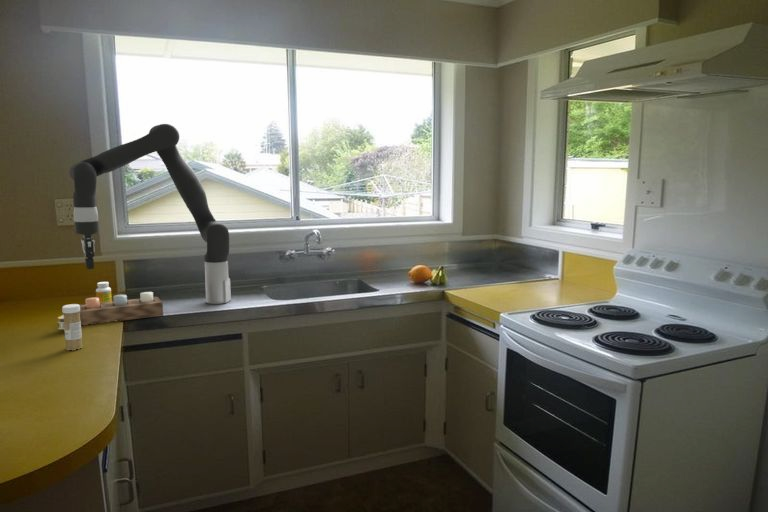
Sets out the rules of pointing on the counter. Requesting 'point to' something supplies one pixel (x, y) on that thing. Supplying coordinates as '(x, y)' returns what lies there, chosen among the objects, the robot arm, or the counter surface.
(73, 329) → the sprinkles bottle
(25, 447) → the counter surface
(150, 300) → the cream button
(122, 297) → the blue-grey egg
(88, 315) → the button panel
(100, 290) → the supplement bottle
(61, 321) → the stacked layers on plate
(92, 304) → the brown egg
